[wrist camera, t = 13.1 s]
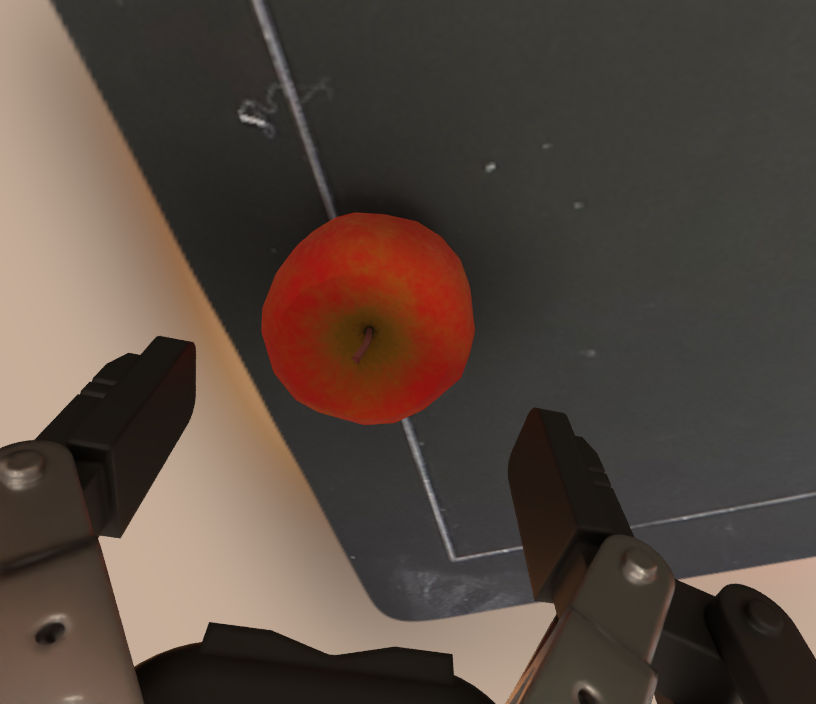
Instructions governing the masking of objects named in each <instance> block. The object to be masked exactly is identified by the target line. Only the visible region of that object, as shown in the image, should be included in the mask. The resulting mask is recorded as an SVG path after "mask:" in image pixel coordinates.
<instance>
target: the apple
mask: <svg viewBox="0 0 816 704" xmlns="http://www.w3.org/2000/svg"><path fill="white" fill-rule="evenodd" d="M474 333H475V326H474V319H473V310H472V300H471V291H470V286H469V283H468V280H467V277H466V274H465V271H464V268H463V266H462V263H461V260H460V258H459V257H458V256H457V255H456V254H455V253H454V252H453V250H452V249H451V248H450V247H449V246H448V244H447V243H446V242H445V241H444V239H443V238H442V237H441V236H439V235H438V234H436V233H435V232H433V231H431V230H430V229H428V228H427V227H425V226H424V225H422V224H421V223H419V222H417V221H413V220H408V219H404V218H399V217H395V216H390V215H386V214H373V213H350V214H347V215H343V216H339V217H336V218H334V219H332V220H331V221H329V222H327V223H325V224H324V225H322V226H320V227H319V228H317V229H316V230H314V231H313V232H312V233H311V234H309V235H308V236H307V237H306V238H305V239H304V240H303V241H301V242H300V243H299V244H298V245H297V246H296V247H295V249H294V250H293V251H292V252H291V254H290V255H289V256H288V258H287V259H286V260H285V262H284V263H283V264H282V266H281V267H280V269H279V270H278V271H277V273H276V275H275V277H274V280H273V282H272V285H271V287H270V290H269V293H268V295H267V298H266V300H265V303H264V305H263V308H262V335H263V338H264V342H265V345H266V348H267V352H268V355H269V358H270V362H271V365H272V368H273V372H274V374H275V375H276V376H277V377H278V379H279V380H280V381H281V382H282V383H283V385H284V386H285V387H286V388H287V390H288V391H289V392H290V393H291V395H292V396H293V397H294V398H295V400H297V401H299V402H301V403H302V404H304V405H306V406H308V407H310V408H312V409H313V410H315V411H317V412H320V413H323V414H327V415H330V416H334V417H338V418H341V419H345V420H349V421H352V422H356V423H359V424H363V425H370V424H385V423H396V422H398V421H400V420H402V419H404V418H406V417H409V416H411V415H413V414H415V413H417V412H419V411H421V410H424V409H425V408H426V407H427V406H429V405H430V404H431V403H432V402H433V401H434V400H436V399H437V398H438V397H439V396H440V395H441V394H443V393H444V392H445V391H446V390H447V389H449V388H450V387H451V386H452V385H453V384H454V383H456V382H457V381H458V380H459V379H460V378H461V376H462V373H463V371H464V368H465V365H466V363H467V360H468V357H469V355H470V351H471V346H472V342H473V338H474Z"/></svg>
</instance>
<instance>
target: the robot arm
mask: <svg viewBox="0 0 816 704" xmlns="http://www.w3.org/2000/svg"><path fill="white" fill-rule="evenodd" d="M195 397H196V347H195V344H194V343H193V342H189V341H184V340H178V339H173V338H168V337H162V336H157V337H156V338H155V339H154V340H153V341H152V342H151V343H150V345H149V346H148V347H147V348H146V349H145V350H144V352H143V353H142V354H141V355H138V354H132V353H127V354H125V355H123V356H121V357H119V358H117V359H115V360H113V361H112V362H109V363H107V364H106V365H105V366H104V367H103V368H102V369H101V370H100V371H99V372H98V374H97V375H96V376H95V377H94V378H93V380H92V382H89V383H88V384H87V385H86V386H85V387H84V388H83V389H82V390H81V393H80V395H79V394H78V395H77V396H76V397H75V398H74V399H73V400H72V401H71V402H70V403H69V404H68V405H67V406H66V407H65V408H64V409H63V410H62V411H61V413H60V414H59V415H58V416H57V417H56V418H55V419H54V420H53V421H52V422H51V423H50V424H49V425H48V426H47V427H46V428H45V429H44V430H43V431H42V432H41V434H40V435H39V436H38V437H37V438H36V439H35V440H29V441H22V442H17V443H14V444H10V445H7V446H5V447H2V448H0V704H495V703H494V702H493V701H492V700H491V699H490V698H489V697H488V696H487V695H486V694H484V693H483V692H482V691H480V690H479V689H478V688H476V687H475V686H473V685H472V684H470V683H468V682H466V681H465V680H463V679H461V678H459V677H457V676H455V675H454V671H453V655H452V654H447V653H439V652H432V651H424V650H417V649H409V648H401V647H389V648H382V649H376V650H368V651H362V652H355V653H348V654H341V655H329V654H326V653H324V652H321V651H319V650H317V649H314V648H312V647H309V646H307V645H305V644H302V643H300V642H297V641H295V640H293V639H290V638H288V637H286V636H283V635H281V634H279V633H276V632H274V631H271V630H265V629H257V628H249V627H242V626H235V625H227V624H219V623H212V622H209V624H208V627H207V630H206V633H205V635H204V638H203V641H202V642H199V643H193V644H188V645H184V646H180V647H177V648H173V649H171V650H168V651H165V652H163V653H160V654H157V655H155V656H153V657H152V658H149V659H147V660H145V661H143V662H141V663H139V664H138V665H137V666H135V667H134V665H133V662H132V658H131V654H130V651H129V647H128V644H127V640H126V637H125V633H124V629H123V625H122V622H121V618H120V615H119V611H118V607H117V604H116V600H115V596H114V593H113V589H112V586H111V582H110V578H109V575H108V571H107V568H106V564H105V560H104V557H103V553H102V550H101V546H100V543H99V540H98V537H99V536H100V535H101V536H107V537H114V538H121V536H122V535H123V533H124V532H125V530H126V528H127V526H128V525H129V523H130V521H131V519H132V518H133V516H134V514H135V513H136V511H137V509H138V508H139V506H140V504H141V503H142V501H143V499H144V498H145V496H146V494H147V492H148V491H149V489H150V487H151V486H152V484H153V482H154V481H155V479H156V477H157V475H158V473H159V472H160V470H161V469H162V467H163V465H164V464H165V462H166V460H167V458H168V456H169V455H170V453H171V452H172V450H173V448H174V447H175V445H176V443H177V441H178V440H179V438H180V436H181V435H182V433H183V431H184V429H185V428H186V426H187V424H188V423H189V420H190V418H191V416H192V413H193V409H194V405H195ZM604 472H605V470H604V468H603V466H602V463H601V461H600V459H599V457H598V454H597V453H596V452H595V451H594V450H593V448H592V447H591V446H590V445H589V444H588V443H587V442H586V441H585V440H584V438H583V437H578V436H575V434H574V432H573V430H572V427H571V425H570V422H569V420H568V417H567V416H566V414H564V413H561V412H556V411H550V410H545V409H540V408H533V409H531V411H530V412H529V414H528V416H527V418H526V420H525V423H524V425H523V427H522V430H521V432H520V434H519V436H518V439H517V441H516V443H515V445H514V448H513V450H512V452H511V455H510V458H509V463H508V480H509V485H510V489H511V494H512V499H513V503H514V508H515V512H516V517H517V522H518V526H519V531H520V535H521V540H522V545H523V549H524V554H525V559H526V563H527V568H528V572H529V577H530V582H531V586H532V591H533V595H534V600H535V601H540V602H548V603H554V605H555V609H556V613H557V614H556V616H555V618H554V619H553V621H552V622H551V624H550V626H549V628H548V629H547V631H546V633H545V635H544V636H543V638H542V640H541V642H540V644H539V645H538V647H537V649H536V651H535V653H534V654H533V656H532V658H531V660H530V662H529V663H528V665H527V667H526V669H525V671H524V672H523V674H522V676H521V678H520V679H519V681H518V683H517V685H516V687H515V688H514V690H513V692H512V693H511V695H510V697H509V699H508V700H507V702H506V704H651V702H652V699H653V695H655V699H656V702H657V704H816V659H815V657H814V655H813V654H812V652H811V650H810V649H809V647H808V645H807V644H806V642H805V640H804V639H803V637H802V635H801V634H800V632H799V630H798V629H797V627H796V625H795V624H794V623H793V621H792V620H791V618H790V617H789V616H788V615H787V614H786V613H785V612H784V610H783V609H782V608H781V607H779V606H778V605H777V604H776V603H775V602H774V601H772V600H771V599H770V598H768V597H767V596H766V595H764V594H762V593H761V592H759V591H757V590H755V589H753V588H751V587H748V586H745V585H741V584H729V585H726V586H725V587H724V588H723V589H722V590H721V591H720V592H719V593H718V594H717V595H716V596H713V595H710V594H708V593H706V592H704V591H701V590H699V589H696V588H694V587H692V586H690V585H687V584H685V583H683V582H681V581H679V580H677V579H675V578H674V575H673V573H672V571H671V569H670V567H669V565H668V564H667V563H666V561H665V560H664V559H663V558H662V556H661V555H660V554H659V553H658V552H656V551H655V550H654V549H653V548H652V547H650V546H649V545H647V544H646V543H644V542H642V541H641V540H638V539H636V538H634V535H633V533H632V531H631V529H630V526H629V524H628V522H627V520H626V517H625V515H624V513H623V511H622V508H621V506H620V504H619V502H618V499H617V497H616V495H615V493H614V490H613V488H611V484H610V481H609V479H608V477H607V475H606V474H604Z"/></svg>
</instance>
